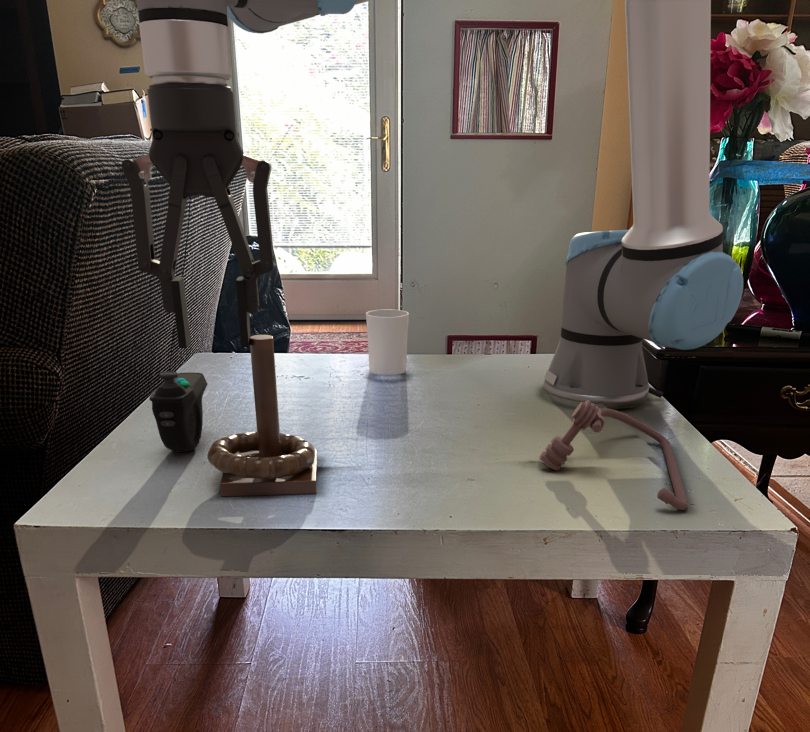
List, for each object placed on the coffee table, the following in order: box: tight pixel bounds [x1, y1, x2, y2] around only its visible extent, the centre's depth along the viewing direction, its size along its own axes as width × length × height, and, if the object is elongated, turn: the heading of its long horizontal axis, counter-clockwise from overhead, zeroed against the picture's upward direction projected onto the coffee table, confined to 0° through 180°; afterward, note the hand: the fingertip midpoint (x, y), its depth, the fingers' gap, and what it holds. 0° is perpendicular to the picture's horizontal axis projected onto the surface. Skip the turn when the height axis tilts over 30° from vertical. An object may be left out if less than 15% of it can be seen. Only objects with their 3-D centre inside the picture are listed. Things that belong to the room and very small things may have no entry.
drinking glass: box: [365, 308, 410, 376], centre depth 124 cm, size 7×7×10 cm
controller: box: [149, 370, 208, 452], centre depth 94 cm, size 4×12×10 cm, turn 179°
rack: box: [219, 334, 318, 497], centre depth 84 cm, size 10×10×16 cm
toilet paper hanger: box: [539, 400, 689, 511], centre depth 89 cm, size 22×8×14 cm
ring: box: [207, 431, 316, 479], centre depth 86 cm, size 11×11×2 cm
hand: (215, 344), depth 80 cm, fingers open, 5 cm apart
